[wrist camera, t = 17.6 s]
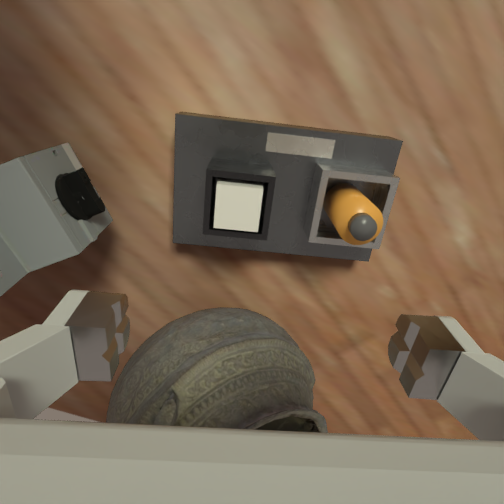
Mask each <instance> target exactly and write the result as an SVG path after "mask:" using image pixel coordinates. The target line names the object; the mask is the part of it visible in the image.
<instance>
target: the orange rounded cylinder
mask: <svg viewBox="0 0 504 504" xmlns="http://www.w3.org/2000/svg"><path fill="white" fill-rule="evenodd" d="M323 205H324V210H325V212H326V213H327V215H328V217H329V218H330V220H331V222H332V223H333V225H334V227H335V228H336V230H337V231H338V233H339V235H340V236H341V238H342V239H343V240H344V241H345V242H347V243H349V244H352V245H363V244H366V243H369V242H371V241H372V240H374V239H375V238H376V237H377V236H378V235H379V233H380V232H381V230H382V227H383V216H382V213H381V211H380V210H379V209H378V208H377V207H376V206H375V205H374V204H373V203H372V202H371V201H370V200H369V199H368V198H367V197H366V196H364V195H363V194H362V193H361V192H360V191H359V190H358V189H357V188H356V187H355V186H353V185H351V184H347V183H342V184H338V185H335V186H334V187H332V188H331V189H330V190H329V191H328V192H327V193H326V195H325V197H324V202H323Z"/></svg>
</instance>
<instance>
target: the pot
mask: <svg viewBox="0 0 504 504" xmlns="http://www.w3.org/2000/svg"><path fill="white" fill-rule="evenodd" d="M314 383H315V377H314V372H313V369H312V367H311V364H310V362H309V360H308V359H307V357H306V356H305V354H304V353H303V352H302V351H301V350H300V349H299V347H298V345H297V343H296V342H295V341H294V340H293V339H292V338H291V336H290V335H289V334H288V333H287V332H286V331H285V330H284V329H283V328H282V327H280V326H279V325H278V324H276V323H275V322H274V321H272V320H271V319H269V318H267V317H265V316H263V315H261V314H259V313H256V312H253V311H250V310H247V309H240V308H212V309H205V310H201V311H197V312H194V313H192V314H189V315H186V316H184V317H181V318H179V319H176V320H174V321H172V322H170V323H168V324H167V325H165V326H164V327H163V328H161V329H160V330H158V331H157V332H156V333H154V334H153V335H152V336H151V337H149V338H148V339H147V340H146V341H145V342H144V343H143V344H142V345H141V346H140V347H139V348H138V349H137V350H136V352H135V353H134V354H133V355H132V357H131V358H130V360H129V361H128V362H127V364H126V365H125V367H124V369H123V371H122V372H121V374H120V376H119V378H118V380H117V382H116V384H115V387H114V389H113V391H112V393H111V398H110V402H109V407H108V411H107V419H106V423H123V424H144V425H166V426H187V427H209V428H231V429H252V430H274V431H296V432H318V433H328V431H327V425H326V420H325V418H324V417H323V416H322V415H321V414H319V413H318V412H317V411H315V410H313V409H312V408H313V402H312V401H313V391H312V388H313V386H314Z"/></svg>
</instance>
